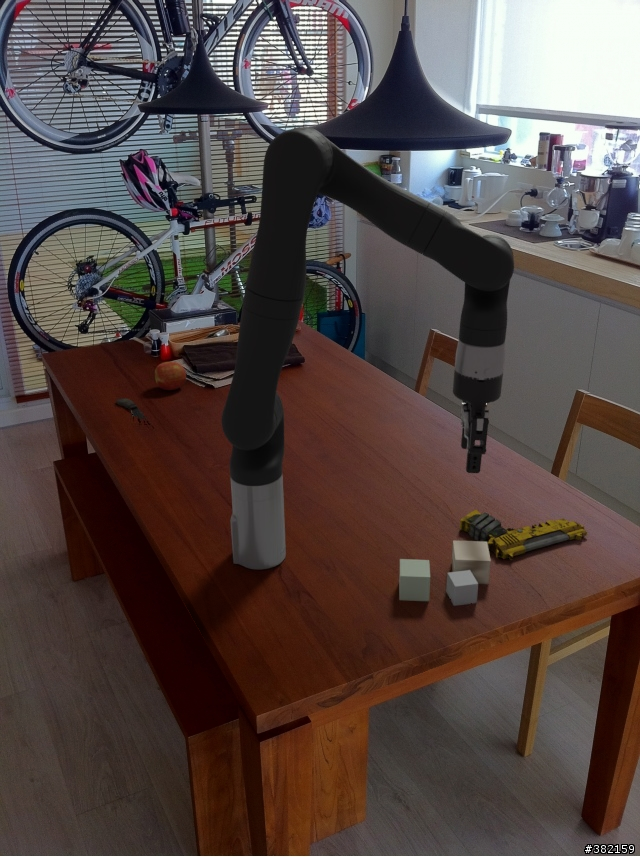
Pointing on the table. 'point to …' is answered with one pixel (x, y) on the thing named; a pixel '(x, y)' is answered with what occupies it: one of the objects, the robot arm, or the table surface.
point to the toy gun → (518, 534)
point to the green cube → (414, 580)
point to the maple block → (472, 559)
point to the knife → (130, 407)
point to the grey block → (462, 587)
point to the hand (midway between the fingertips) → (470, 459)
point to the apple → (170, 375)
